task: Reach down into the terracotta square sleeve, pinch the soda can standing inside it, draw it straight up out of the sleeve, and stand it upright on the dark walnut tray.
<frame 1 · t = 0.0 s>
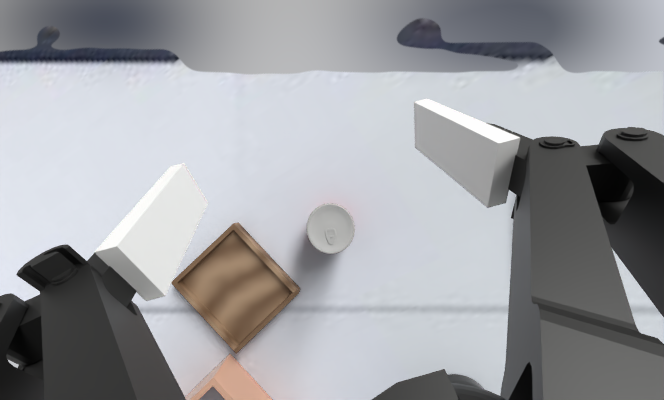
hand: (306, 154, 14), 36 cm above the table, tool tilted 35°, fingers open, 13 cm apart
walnut tray: (239, 283, 49), on the table
canned food: (330, 224, 50), on the table
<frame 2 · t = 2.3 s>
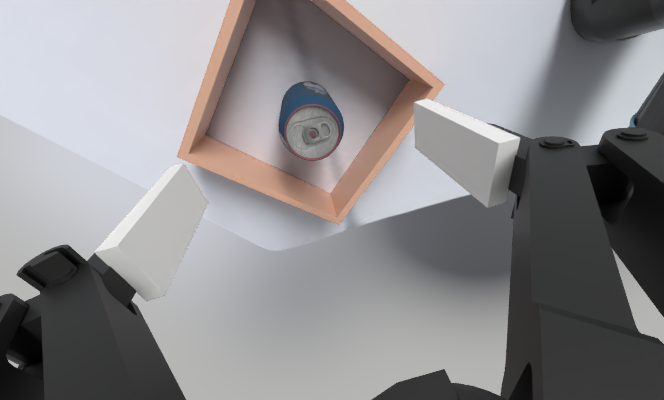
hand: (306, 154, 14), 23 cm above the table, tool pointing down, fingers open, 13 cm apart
soda can: (306, 106, 35), resting in terracotta sleeve
terracotta sleeve: (307, 107, 35), on the table
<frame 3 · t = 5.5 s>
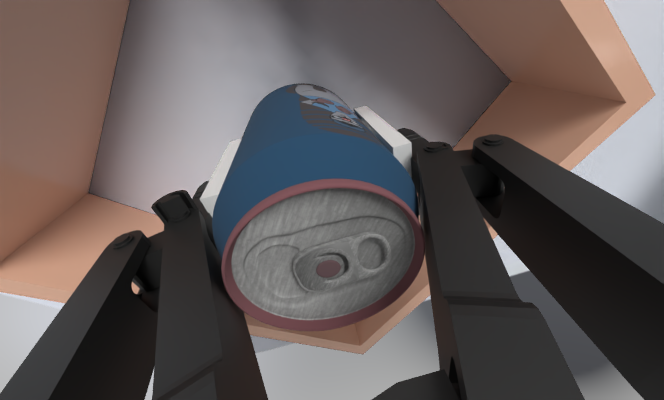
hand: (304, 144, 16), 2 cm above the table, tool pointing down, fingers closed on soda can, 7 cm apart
soda can: (302, 135, 17), resting in terracotta sleeve, touching gripper
terracotta sleeve: (302, 136, 17), on the table
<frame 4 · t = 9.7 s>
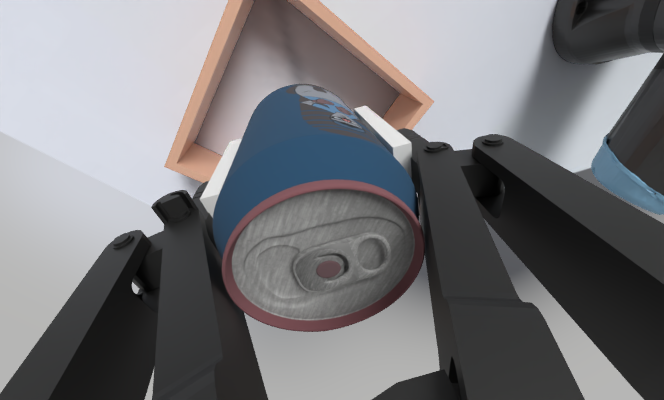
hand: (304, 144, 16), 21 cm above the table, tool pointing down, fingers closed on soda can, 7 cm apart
soda can: (302, 135, 17), point 19 cm above the table, touching gripper
terracotta sleeve: (298, 117, 35), on the table
when the fingers open (3 cm above the table, at t = 13.7 s): soda can stays where it is, resting on walnut tray.
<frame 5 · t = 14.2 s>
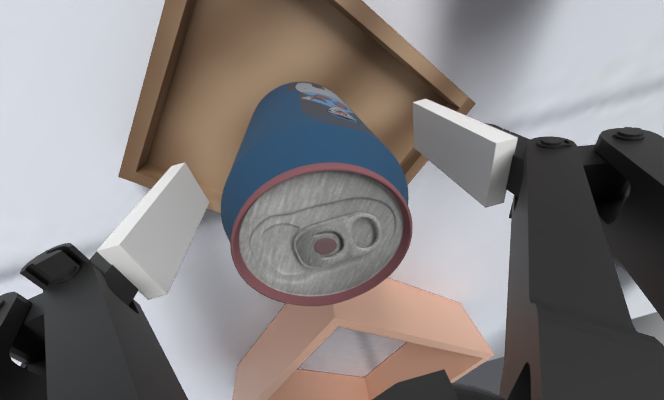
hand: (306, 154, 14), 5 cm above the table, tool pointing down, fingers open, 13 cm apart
soda can: (302, 131, 18), point 1 cm above the table, touching walnut tray
terracotta sleeve: (349, 334, 35), on the table
walnut tray: (301, 127, 19), on the table
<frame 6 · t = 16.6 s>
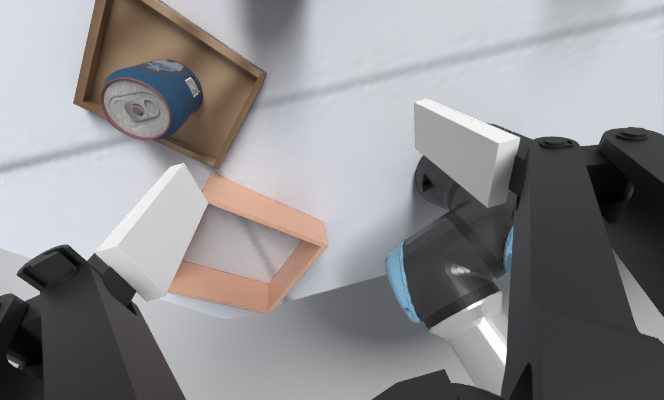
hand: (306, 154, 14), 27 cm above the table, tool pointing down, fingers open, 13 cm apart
soda can: (177, 87, 34), point 1 cm above the table, touching walnut tray
terracotta sleeve: (246, 240, 52), on the table
walnut tray: (179, 85, 34), on the table
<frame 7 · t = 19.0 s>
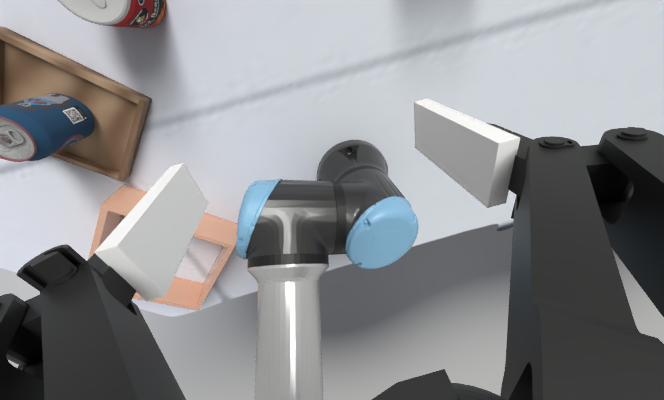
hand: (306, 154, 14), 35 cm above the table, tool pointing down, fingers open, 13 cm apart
soda can: (74, 114, 40), point 1 cm above the table, touching walnut tray
terracotta sleeve: (171, 243, 57), on the table
walnut tray: (77, 113, 41), on the table
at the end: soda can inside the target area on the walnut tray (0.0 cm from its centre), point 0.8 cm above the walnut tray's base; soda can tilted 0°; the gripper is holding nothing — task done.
